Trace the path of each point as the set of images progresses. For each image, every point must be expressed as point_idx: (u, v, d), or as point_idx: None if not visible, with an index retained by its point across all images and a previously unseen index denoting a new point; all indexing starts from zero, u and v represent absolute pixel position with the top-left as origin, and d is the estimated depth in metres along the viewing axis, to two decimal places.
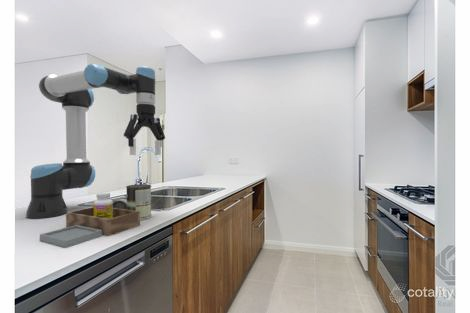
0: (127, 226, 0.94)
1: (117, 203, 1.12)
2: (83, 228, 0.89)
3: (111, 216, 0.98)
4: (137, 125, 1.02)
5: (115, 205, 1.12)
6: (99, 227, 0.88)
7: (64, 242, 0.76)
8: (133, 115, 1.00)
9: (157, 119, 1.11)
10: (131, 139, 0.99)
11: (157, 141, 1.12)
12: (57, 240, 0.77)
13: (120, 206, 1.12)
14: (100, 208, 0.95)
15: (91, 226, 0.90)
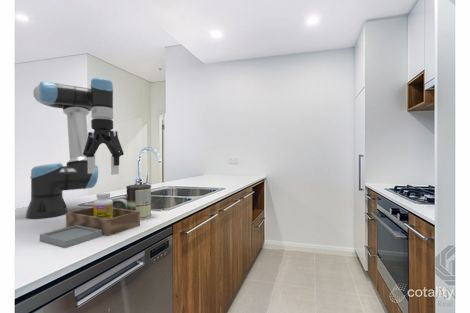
0: (127, 226, 0.94)
1: (116, 203, 1.12)
2: (83, 228, 0.89)
3: (111, 216, 0.98)
4: None
5: (114, 205, 1.12)
6: (99, 227, 0.88)
7: (64, 242, 0.76)
8: None
9: None
10: (87, 157, 1.00)
11: None
12: (57, 240, 0.77)
13: (119, 206, 1.12)
14: (100, 208, 0.95)
15: (91, 226, 0.90)
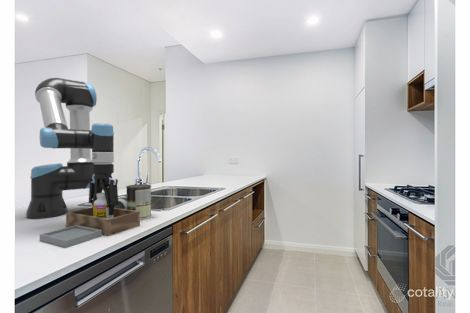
0: (127, 226, 0.94)
1: None
2: (83, 228, 0.89)
3: None
4: None
5: None
6: (99, 227, 0.88)
7: (64, 242, 0.76)
8: None
9: None
10: (93, 205, 0.99)
11: None
12: (57, 240, 0.77)
13: (117, 206, 1.12)
14: (100, 208, 0.95)
15: (91, 226, 0.90)
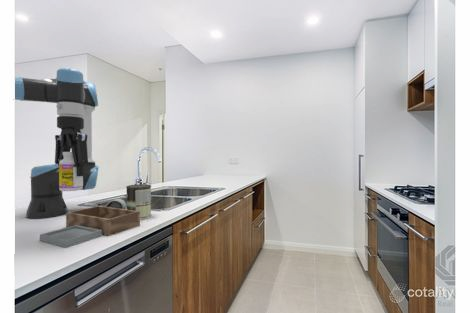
0: (127, 226, 0.94)
1: (113, 203, 1.12)
2: (83, 228, 0.89)
3: None
4: None
5: (111, 205, 1.12)
6: (99, 227, 0.88)
7: (64, 242, 0.76)
8: None
9: None
10: None
11: None
12: (57, 240, 0.77)
13: (116, 206, 1.12)
14: (66, 167, 0.81)
15: (91, 226, 0.90)
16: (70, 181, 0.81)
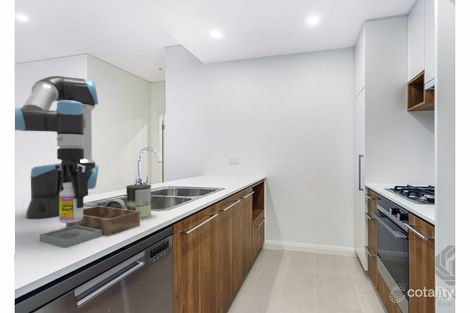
0: (127, 226, 0.94)
1: (112, 203, 1.12)
2: (83, 228, 0.89)
3: None
4: None
5: (110, 205, 1.12)
6: (99, 227, 0.88)
7: (64, 242, 0.76)
8: None
9: None
10: None
11: None
12: (57, 240, 0.77)
13: (115, 206, 1.12)
14: (66, 199, 0.81)
15: (91, 226, 0.90)
16: (70, 213, 0.81)
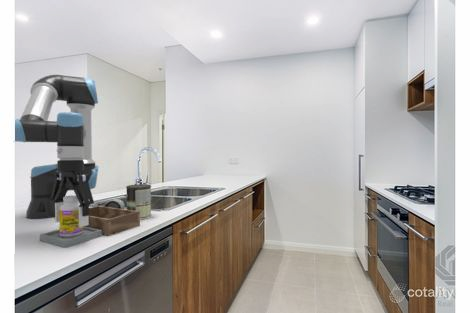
0: (127, 226, 0.94)
1: (111, 203, 1.12)
2: (83, 228, 0.89)
3: None
4: None
5: (109, 205, 1.12)
6: (99, 227, 0.88)
7: (64, 242, 0.76)
8: None
9: None
10: None
11: None
12: (57, 240, 0.77)
13: (114, 206, 1.12)
14: (66, 214, 0.81)
15: (91, 226, 0.90)
16: (71, 227, 0.81)
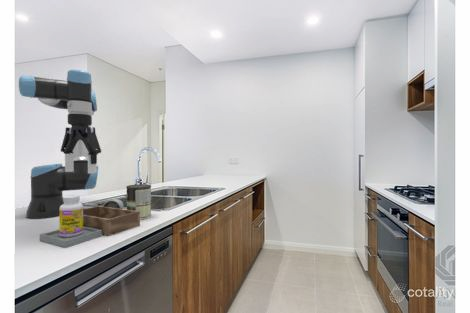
0: (127, 226, 0.94)
1: (110, 203, 1.12)
2: (83, 228, 0.89)
3: (80, 223, 0.84)
4: None
5: (108, 205, 1.12)
6: (99, 227, 0.88)
7: (64, 242, 0.76)
8: None
9: None
10: (65, 154, 0.95)
11: None
12: (57, 240, 0.77)
13: (113, 206, 1.12)
14: (66, 214, 0.81)
15: (91, 226, 0.90)
16: (71, 227, 0.81)
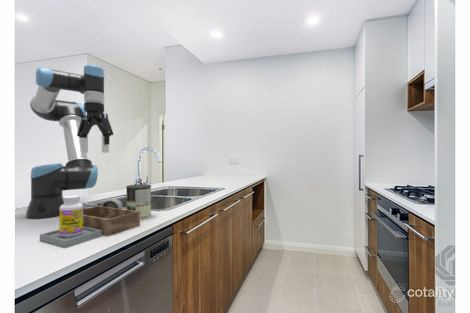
0: (127, 226, 0.94)
1: (108, 203, 1.12)
2: (83, 228, 0.89)
3: (80, 223, 0.84)
4: None
5: (106, 205, 1.12)
6: (99, 227, 0.88)
7: (64, 242, 0.76)
8: None
9: None
10: (81, 138, 1.10)
11: None
12: (57, 240, 0.77)
13: (111, 206, 1.12)
14: (66, 214, 0.81)
15: (91, 226, 0.90)
16: (71, 227, 0.81)
